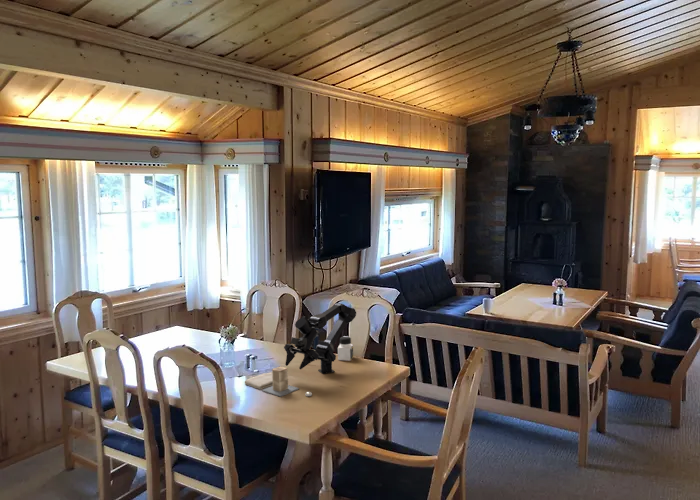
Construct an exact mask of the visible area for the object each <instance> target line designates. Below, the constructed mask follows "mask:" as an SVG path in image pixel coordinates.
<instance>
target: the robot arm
mask: <svg viewBox="0 0 700 500" xmlns="http://www.w3.org/2000/svg"><path fill="white" fill-rule="evenodd" d="M337 315H338V320H337V321H336V322H335V324H334V325H333V327H332V328H331V331H330V332H329V334H328V335H327V337H326V339H325V340H319V342H318V344H317V345H316V346H315V349H312V348H311V347H314V344H313V343H314V341H315V339H316V337H320V336H321V334H320V331H319V330H322V329H324V327H326V325H327V324H328V322H329V321H330V320H331V319H333V318H334V317H335V316H337ZM356 316H357V310H356V309H355V308H353V307H350V306H347V305H345V304H344V303H339V302H336V303H334V305H332V306H331V307H329V308H328V309H326V310H324V311H323V312H321V313H319V314H318V313H317V314H314V315H312V316H311V317H309V318H307V316H302V317H301V318H299V319H298V320H296V321H295V323H294V325H295V326H294V327H295V328H296V329H297V330H298V331H299V332H300V333H301V334H302V336H301V337H299V338H297V337H293V336H292V337H291V340H290V343H285V345H284V346H283V349H284V351H285V352H286V358H285V366H288V365H289V364H290V363H291V362H292V361H293V359H294V358H295V357H296V354H303V359H302V361H301V363H300V364H299V367H298V368H299V370H303V369H304V368H305V367H306V366H308V365H309V364H311V363H312V362H315V361H320V369H318V372H319V373H321V374H323V375H326V374H331V373H335V370H333V362H335V361H336V358H337V356H336V354H335V353H334V351H335V350H334V348H335V347H334V346H335V344H336V343H337V340H338V339H339V338H340V336H341V334H342V333H343V331H344V329H345V328H346V326H347V325H348V324H350V323H351V322H353V320H354V319H355V318H356Z"/></svg>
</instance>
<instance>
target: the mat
mask: <svg viewBox="0 0 700 500" xmlns="http://www.w3.org/2000/svg"><path fill="white" fill-rule="evenodd" d="M298 390H300V388H299V387H296V386H293V385H289V384H288V389H286V390H284V391H281V392H280V391H276V390H273V386H269V387H266V388H264V389H261V391H262V392H263V393H267V394H269V395H274V396H277V397H283V396H286V395H289V394H290V393H294V392H296V391H298Z"/></svg>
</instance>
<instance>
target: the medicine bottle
mask: <svg viewBox="0 0 700 500" xmlns="http://www.w3.org/2000/svg"><path fill="white" fill-rule="evenodd" d="M352 359H354V344H352V338H351V337H350V336H348V335H347V336H345V335H344V336H341V337H339V345H338V347H337V360H338V361H347V362H350V361H352Z"/></svg>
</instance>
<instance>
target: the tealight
mask: <svg viewBox="0 0 700 500" xmlns="http://www.w3.org/2000/svg"><path fill="white" fill-rule="evenodd" d="M304 395H305V397H308V398H309V397H312V395H313V393H312V392H311V391H305V394H304Z"/></svg>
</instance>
